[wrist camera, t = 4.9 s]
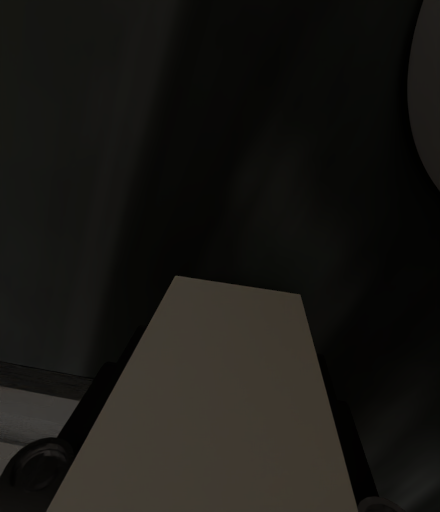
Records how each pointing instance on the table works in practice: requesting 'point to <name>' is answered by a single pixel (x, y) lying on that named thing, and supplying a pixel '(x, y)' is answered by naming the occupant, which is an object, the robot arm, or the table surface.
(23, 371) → the rail
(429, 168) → the cylinder vase
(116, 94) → the table surface
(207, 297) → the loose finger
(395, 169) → the table surface
